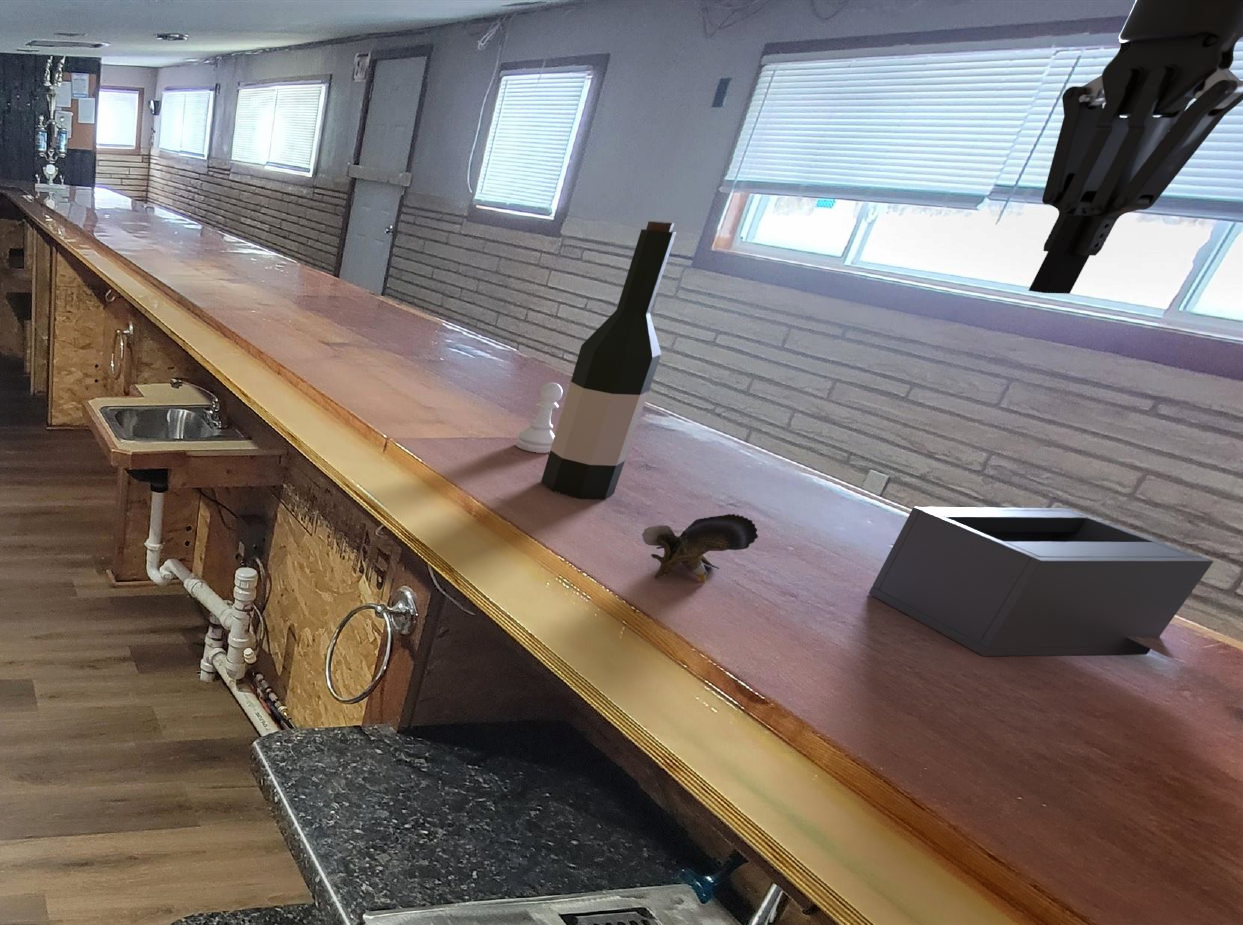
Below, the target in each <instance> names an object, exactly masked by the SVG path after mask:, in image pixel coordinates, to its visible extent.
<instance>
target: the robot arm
mask: <svg viewBox="0 0 1243 925" xmlns="http://www.w3.org/2000/svg"><path fill="white" fill-rule="evenodd" d="M1242 38H1243V0H1135V2H1134V4H1133V7H1132V8H1131V11H1130V12H1129V15H1128V17H1127V19H1126V21H1125V23H1124V25H1123V27H1122V29H1121V31H1120V33H1119V36H1118V39H1119V42H1120V47H1119V50H1118V52H1117V53H1116V54H1115V55H1114V57H1113V58H1112V59H1111V60H1110V61H1109V62H1108V63H1107V65H1105V67H1104V68H1103V71H1102V73H1101V75H1099V76H1097V77H1096V78H1095V79H1092V80H1091V81H1088V82H1087V83H1085V84H1084V85H1081V86H1077V85H1075V86H1074V85H1073V86H1069V87H1068V88H1067V89H1065V91H1064V92H1063V93H1062V95H1061V96H1062V97H1061V99H1062V109H1063V118H1062V122H1061V127H1060V131H1059V134H1058V137H1057V142H1056V146H1055V150H1054V153H1053V156H1052V161H1051V164H1050V168H1049V172H1048V176H1047V179H1046V183H1045V187H1044V190H1043V194H1042V197H1041V198H1042V199H1041V202H1042V204H1044V205H1050V206H1052V207H1054V209H1056V210H1057V211H1058V216H1057V219H1056V220H1055V222H1054V223H1053V226H1052V228H1051V230H1050V232H1049V234H1048V237H1047V239H1046V241H1045V242H1044V244H1043V250H1042V251H1043V252H1047V253H1046V255H1045V256H1044V259H1043V260H1042V263H1041V264H1040V267H1039V269H1038V271H1037V273H1036V274H1035V277H1034V279H1033V281H1032V283H1031V285H1030V286H1029V288H1028V290H1027V292H1035V293H1040V294H1065V295H1067V294H1071V292H1072V290H1073V288H1074V286H1075V285H1076V282H1077V280H1078V279H1079V277H1080V275H1081V274H1082V271H1083V269H1084V268H1085V266H1086V263H1087V261H1088V259H1089V257H1091V256H1093V257H1094V256H1095V257H1096V256H1097V255H1098V254H1099V252H1101V250H1102V249H1103V246H1104V245H1105V243H1106V241H1107V239H1108V237H1109V236H1110V234H1111V231H1112V229H1113V228H1114V226H1115V224H1116V222H1117V221H1118V219H1120V217H1122V216H1123V215H1125V214H1129V213H1131V212H1135V211H1140V210H1141V211H1145V210H1148V209H1149V208H1151V207H1153V205H1154V204H1155V203H1156V201H1158V200H1159V198H1160V197H1161V196H1162V194H1163V193H1164V192H1165V191H1166V190H1167V188H1168V186H1169V185H1170V184H1171V183H1172V182H1173V181H1174V179H1175V178H1176V177H1177V176H1178V174H1179V173H1180V171H1182V169H1183V168H1184V167H1185V165H1186V164H1187V163H1188V162H1189V160H1190V159H1191V158H1192V157H1193V156H1194V154H1195V153H1196V152H1197V151H1198V149H1199V148H1200V147H1201V146H1202V145H1203V143H1204V142H1205V141H1206V139H1208V136H1209V135H1210V134H1211V133H1212V131H1213V130H1214V129H1215V128H1216V127H1217V125H1218V124H1219V123H1220V122H1221V120H1222V119H1223V118H1224V117H1225V115H1227V114H1228V113H1229V112H1230V111H1231V110H1234V108H1235V107H1236V106H1238V105H1239V104H1240V103H1242V102H1243V80H1241V79H1239V78H1238V76H1236V74H1234V73H1233V72H1232V71H1231V70H1230V68H1231V66H1232V65H1233V63H1234V59H1235V58H1234V57H1235V56H1234V51H1235V47H1236V44H1237V43H1238V41H1239V40H1240V39H1242ZM1193 100H1194V101H1193ZM1191 101H1193V102H1191ZM1190 103H1191V104H1190Z"/></svg>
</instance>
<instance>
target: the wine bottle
mask: <svg viewBox="0 0 1243 925" xmlns="http://www.w3.org/2000/svg"><path fill="white" fill-rule="evenodd" d="M674 226H675V222H672V221H671V222H670V221H662V220H661V221H660V220H659V221H657V220H649V221H648V222H647V225H646V228H642V229H640V231H639V232H640V233H639V236H638V238H637V243H636V246H635V249H634V252H633V255H632V259H631V262H630V264H629V269H628V272H627V275H626V278H625V281H624V284H623V288H622V290H621V294H620V297H619V301H618V304H617V307H616V310H614V312H612V314H611V315H610V316H609V317H608V318H607V319H606V320H605V321H604V322H603V323H602V324H601V325H600V326H599V327H598V328H597V329H596V330H595V331H594V332H593V333H592V334H591V335H590V336H589V337H588V338H587V339H586V340H585V341H584V342H583V343H582V344H581V346H580V348H579V352H578V356H577V359H576V362H575V365H574V369H573V373H572V376H571V379H570V382H569V386H568V389H567V393H566V396H565V400H564V403H563V406H562V409H561V413H560V415H559V420H558V423H557V426H556V429H555V433H554V435H555V436H554V440H553V443H552V446H551V450H550V453H548V457H547V459H546V464H545V467H544V470H543V474H542V476H541V480H540V483H541V482H542V483H541V484H542V485H544V486H545V485H546V486H547V487H546V486H545V487H546V488H548V489H549V488H550V489H551V490H552V492H554V491H557V492H556V493H558V492H560V493H559V494H561V493H562V494H561V495H565V494H567V495H566V496H569V497H573V498H577V499H590V500H593V499H594V500H606V499H607V498H609V497H610V496H612V495H613V494H615V491H616V489H617V485H618V482H619V480H620V478H621V474H622V471H623V468H624V464H625V462H626V459H627V457H628V453H629V450H630V447H631V445H632V442H633V438H634V436H635V433H636V429H637V427H638V423H639V420H640V418H641V416H642V412H643V409H644V406H645V404H646V400H647V397H648V395H649V392H650V389H651V386H652V383H653V380H654V377H655V375H656V371H657V368H658V365H659V363H660V359H661V356H662V350H661V348H660V344H659V340H658V337H657V333H656V329H655V325H654V323H653V320H652V319H653V318H652V316H651V311H652V308H653V305H654V302H655V299H656V296H657V294H658V289H659V287H660V283H661V281H662V278H663V275H664V271H665V268H666V265H667V262H668V259H669V256H670V253H671V251H672V247H673V244H674V241H675V238H676V236H677V231H673V229H674ZM550 489H549V490H550ZM551 490H550V491H551Z"/></svg>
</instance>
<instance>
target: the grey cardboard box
mask: <svg viewBox="0 0 1243 925" xmlns="http://www.w3.org/2000/svg"><path fill="white" fill-rule="evenodd" d="M1214 561H1215V560H1212V559H1210V558H1206V557H1203V556H1200V555H1199V554H1195V553H1192V552H1190V551H1187V550H1185V549H1181V548H1178V547H1176V546H1174V545H1170V544H1167V543H1165V542H1162V541H1159V540H1156V539H1153V538H1150V537H1148V536H1145V535H1142V534H1140V533H1137V532H1135V531H1131V530H1129V529H1126V528H1123V527H1121V526H1118V525H1115V524H1112V523H1110V522H1107V521H1104V520H1101V519H1099V518H1095V517H1093V516H1091V515H1088V514H1084V513H1083V512H1080V511H1076V510H1073V509H1071V508H1067V507H967V506H966V507H965V506H964V507H963V506H962V507H961V506H958V507H957V506H952V507H951V506H948V507H947V506H913V507H912V509H911V511H910V513H909V515H908V516H907V519H906V520H905V522H904V524H903V526H902V528H901V530H900V532H899V533H898V536H897V538H896V539H895V542H894V544H893V545H892V548H891V549H890V551H889V553H888V555H887V557H886V559H885V561H884V562H883V565H882V566H881V568H880V570H879V572H878V574H877V575H876V578H875V580H874V581H873V584H872V586H871V587H870V589H869V591H868V595H870V596H872V597H874V598H875V599H877V600H879V601H881V602H883V603H885V604H886V605H887V606H890V607H892V608H894V609H896V610H897V611H899V612H901V613H902V614H905V615H907V616H908V617H910V618H912V619H914V620H916V621H917V622H919V623H922V624H923V625H925V626H927V627H929V628H930V629H932V630H934V631H936V632H938V633H940V634H941V635H943V636H945V637H947V638H949V639H950V640H952V641H954V642H956V643H958V644H959V645H962V646H963V647H965V648H967V649H969V650H971V651H973V652H974V653H976V654H978V655H980V656H982V657H1023V656H1024V657H1025V656H1026V657H1028V656H1031V657H1032V656H1039V657H1041V656H1107V655H1108V656H1121V655H1123V656H1125V655H1130V656H1131V655H1132V656H1133V655H1137V656H1138V655H1148V653H1149V652H1150V651H1151V649H1152V648H1151V647H1148V646H1146V645H1144V644H1143V643H1139V642H1137V641H1136V640H1133V639H1131V638H1160V637H1161V636H1162V634H1163V633H1164V631H1165V630H1166V629H1167V627H1168V626H1169V624H1170V623H1171V622H1172V620H1173V619H1174V617H1175V616H1176V615H1177V613H1178V612H1179V610H1181V608H1182V607H1183V605H1184V603H1185V602H1186V601H1187V600H1188V599H1189V597H1190V595H1191V594H1192V593H1193V591H1194V590H1195V589H1196V587H1197V585H1198V584H1199V582H1200V581H1201V580H1202V579H1203V577H1204V576H1205V574H1206V573H1207V571H1208V570H1209V569H1210V567H1211V566H1212V564H1213V563H1214Z"/></svg>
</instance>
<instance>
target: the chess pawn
mask: <svg viewBox="0 0 1243 925" xmlns="http://www.w3.org/2000/svg"><path fill="white" fill-rule="evenodd" d="M538 392H539V393H538V397H539V399H540V400H538V401H537V402H536V403H535V406H537V407H540V408H539V410H538V413H537V415H536V417H535V419H534V420H533V421H530V423H529V427H528V428H526V429H524V430H522V431H521V432H519V434H518V438H517V440H516V442H515V446H516V447H517V448H519V449H521V450H522V451H526V452H530V453H535V452H536V453H537V454H549V453H548V452H550V450H551V446H552V443H553V440H554V436H555V433H553V431H552V429H553V428H554V425H553V424H552V422H551V419H552V418H551V417H552V413H553V410H554V409H555V410H556V409H559V404H558V403H557V402H558V401H559V400H560V399H561V398H562V396H563V388H562V386H561V385H560V384H558V383H556V382H548V383H544V384H543V385H542V386H541V387H540V388H539V391H538ZM536 453H535V454H536Z"/></svg>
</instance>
